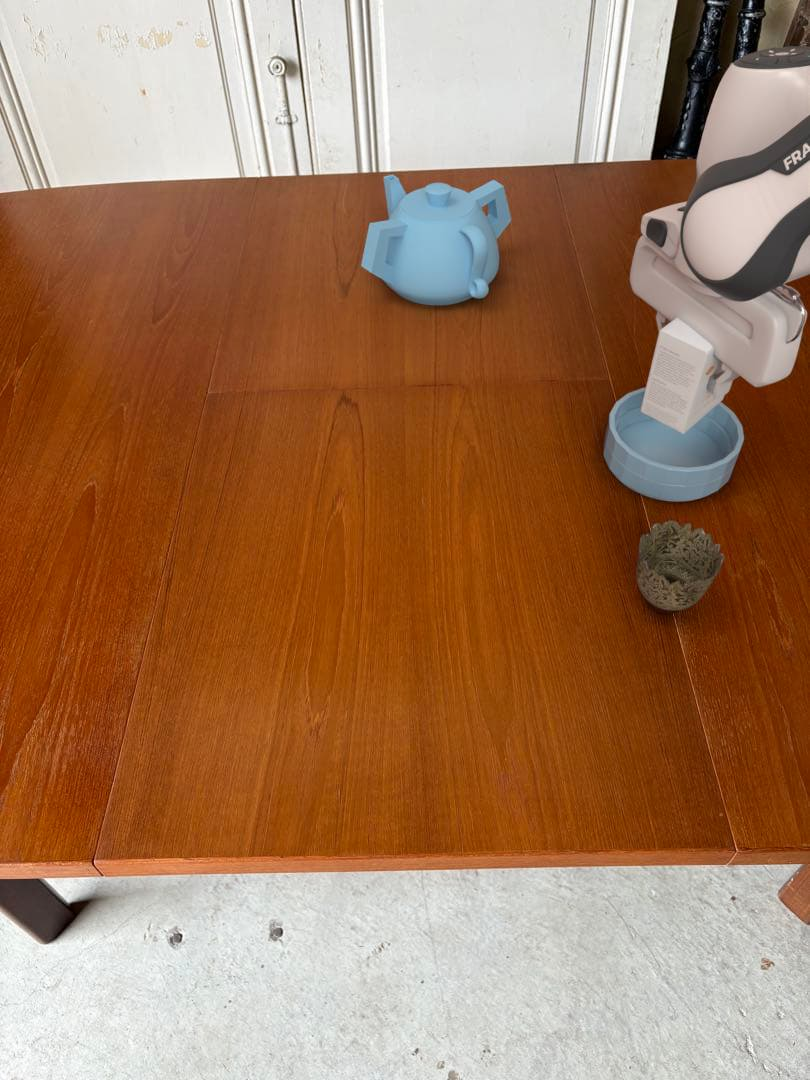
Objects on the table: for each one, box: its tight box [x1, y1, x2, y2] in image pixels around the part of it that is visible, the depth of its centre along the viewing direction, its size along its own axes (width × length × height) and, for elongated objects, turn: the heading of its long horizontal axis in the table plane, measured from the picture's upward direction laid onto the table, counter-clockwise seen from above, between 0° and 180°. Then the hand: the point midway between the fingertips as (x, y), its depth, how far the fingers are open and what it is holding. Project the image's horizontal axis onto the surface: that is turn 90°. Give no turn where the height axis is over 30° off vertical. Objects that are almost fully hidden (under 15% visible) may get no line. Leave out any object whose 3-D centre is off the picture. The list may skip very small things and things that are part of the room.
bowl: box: [602, 386, 745, 503], centre depth 92 cm, size 14×14×5 cm
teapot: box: [360, 173, 512, 306], centre depth 116 cm, size 19×19×14 cm
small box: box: [641, 318, 725, 434], centre depth 84 cm, size 8×6×10 cm
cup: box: [636, 519, 725, 616], centre depth 77 cm, size 8×7×8 cm
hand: (691, 371), depth 84 cm, fingers closed on small box, 6 cm apart
